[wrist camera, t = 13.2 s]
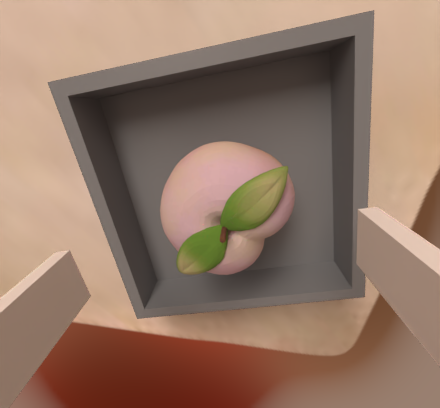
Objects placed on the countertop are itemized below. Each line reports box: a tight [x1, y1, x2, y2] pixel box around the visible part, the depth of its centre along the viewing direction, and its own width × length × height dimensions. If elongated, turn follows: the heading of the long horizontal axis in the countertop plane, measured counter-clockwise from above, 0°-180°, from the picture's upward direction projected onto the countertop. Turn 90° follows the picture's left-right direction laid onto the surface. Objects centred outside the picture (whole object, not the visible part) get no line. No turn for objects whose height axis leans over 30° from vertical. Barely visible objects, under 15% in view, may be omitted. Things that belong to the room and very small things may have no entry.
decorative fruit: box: [160, 141, 295, 275], centre depth 17 cm, size 9×8×10 cm
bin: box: [48, 10, 374, 319], centre depth 21 cm, size 20×20×5 cm
